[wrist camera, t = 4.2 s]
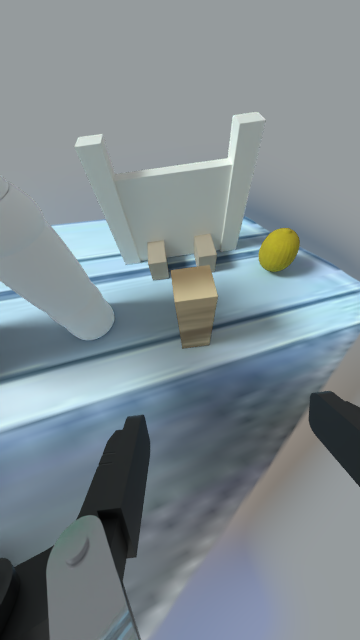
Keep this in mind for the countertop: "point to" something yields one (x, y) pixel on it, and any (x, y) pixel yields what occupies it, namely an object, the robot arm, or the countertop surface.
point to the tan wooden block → (194, 304)
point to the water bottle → (47, 268)
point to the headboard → (176, 200)
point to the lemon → (279, 249)
